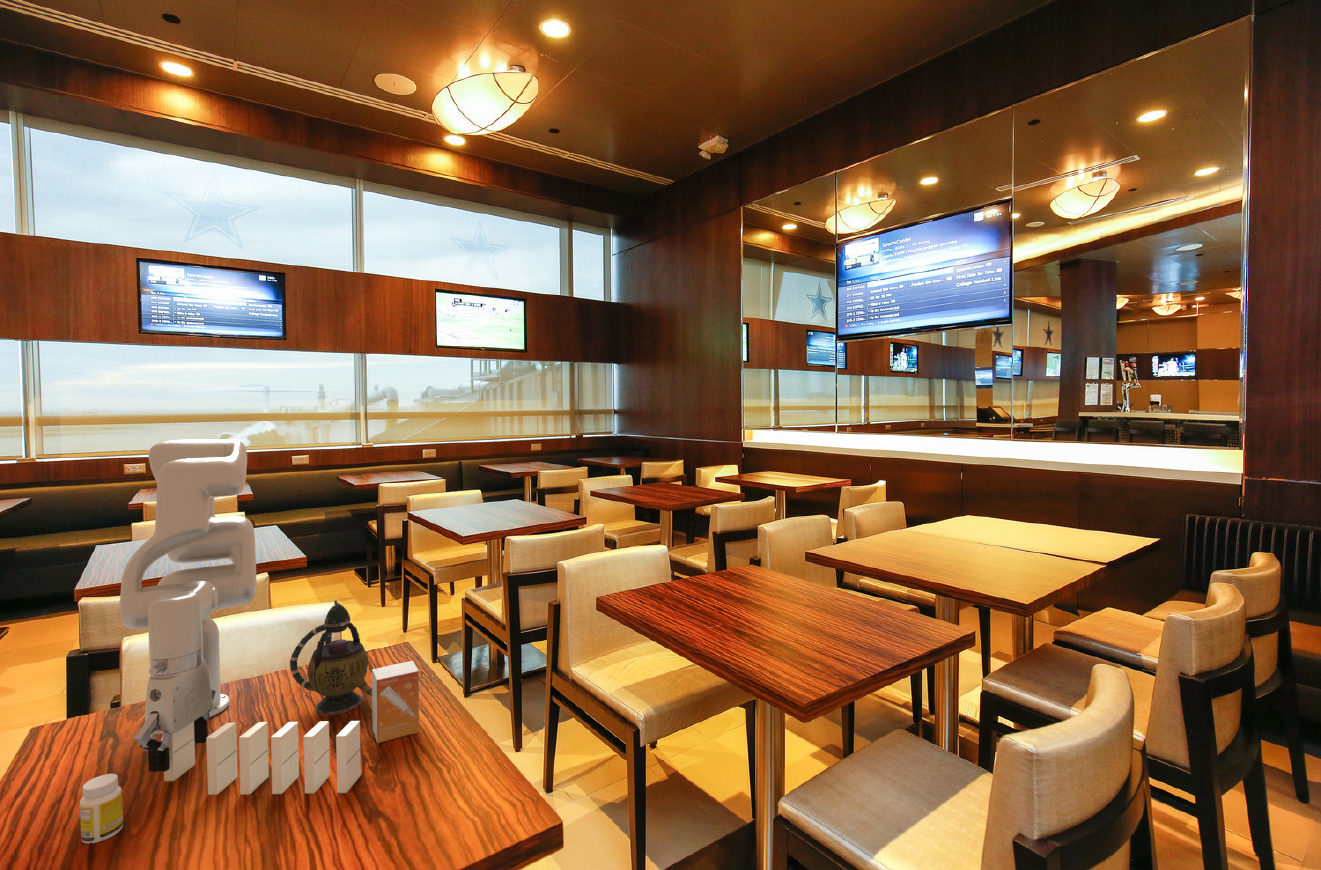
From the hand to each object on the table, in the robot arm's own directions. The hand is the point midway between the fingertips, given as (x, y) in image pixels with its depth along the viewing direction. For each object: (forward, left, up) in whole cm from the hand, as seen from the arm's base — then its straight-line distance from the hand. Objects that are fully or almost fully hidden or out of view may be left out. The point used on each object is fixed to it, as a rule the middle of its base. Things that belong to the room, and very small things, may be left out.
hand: (179, 755), depth 108 cm
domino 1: (0, 0, -3) cm, 3 cm away
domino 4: (+11, +19, -3) cm, 22 cm away
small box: (-1, +36, -3) cm, 36 cm away
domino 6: (+15, +29, -3) cm, 33 cm away
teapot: (-16, +26, -3) cm, 31 cm away
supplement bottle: (+15, -5, -3) cm, 16 cm away
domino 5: (+13, +24, -3) cm, 27 cm away
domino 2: (+7, +9, -3) cm, 12 cm away
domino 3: (+9, +14, -3) cm, 17 cm away
